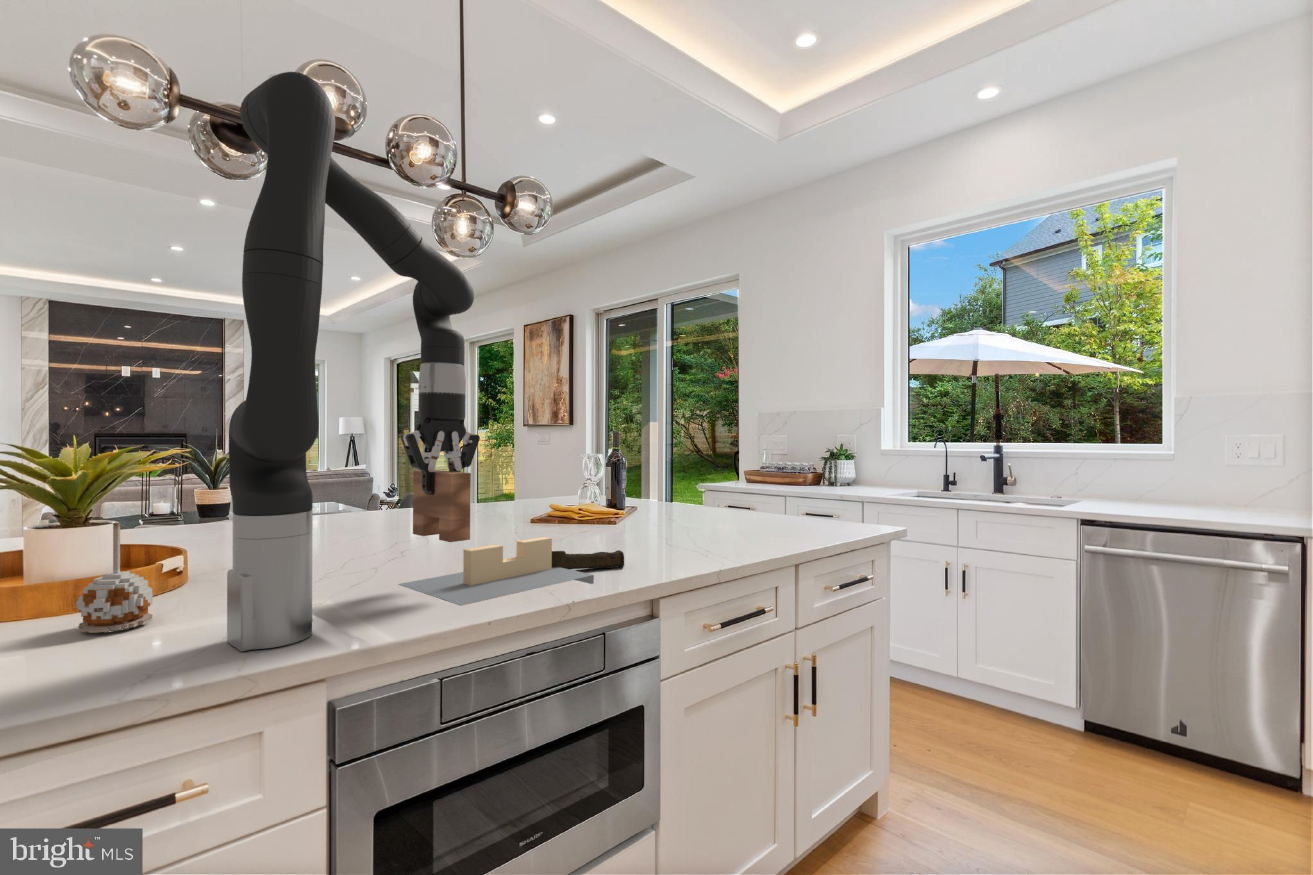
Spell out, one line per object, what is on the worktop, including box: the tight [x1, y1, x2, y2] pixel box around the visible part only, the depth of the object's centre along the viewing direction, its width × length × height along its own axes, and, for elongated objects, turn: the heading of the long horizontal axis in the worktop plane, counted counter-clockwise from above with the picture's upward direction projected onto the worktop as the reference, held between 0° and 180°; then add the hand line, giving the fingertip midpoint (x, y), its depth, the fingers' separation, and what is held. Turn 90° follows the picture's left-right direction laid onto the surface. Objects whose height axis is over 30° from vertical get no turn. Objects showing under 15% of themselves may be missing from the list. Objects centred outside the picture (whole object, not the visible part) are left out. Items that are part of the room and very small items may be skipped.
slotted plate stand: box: [398, 536, 595, 606], centre depth 113 cm, size 28×20×8 cm
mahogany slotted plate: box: [412, 469, 472, 543], centre depth 105 cm, size 4×12×11 cm, turn 50°
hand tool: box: [552, 549, 625, 570], centre depth 128 cm, size 19×4×5 cm, turn 117°
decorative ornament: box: [75, 521, 153, 634], centre depth 89 cm, size 8×8×15 cm
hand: (441, 493), depth 105 cm, fingers closed on mahogany slotted plate, 3 cm apart
